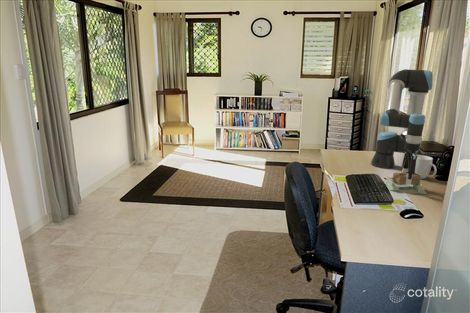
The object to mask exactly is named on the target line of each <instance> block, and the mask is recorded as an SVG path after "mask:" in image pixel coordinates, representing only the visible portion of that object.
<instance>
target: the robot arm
mask: <svg viewBox="0 0 470 313" xmlns="http://www.w3.org/2000/svg"><path fill="white" fill-rule="evenodd" d="M387 88H388V93H387V94H388V95H387V99H386V106H385V111H384V112H382V113H381V115H380V120H379V124H380V126H384V127H392V128H400V129H401V128H402V129H403V130H402V131H401V132H400V134H398V133H397V131H381V132H379V133H378V135H377V138H376V146H375V152H374V155H373V157H372V159H371V162H370V164H371V165H372V166H374V167H377V168H382V169H393V168H395V165H396V162H395V156H394V155H395V154H394V153H401V154H404V155H403V159H402V163H401V166H402V172H401V173H407V177H406V182H405V184H407V185H411V181H412V176H413V174H415V167H416V160H417V156H416V155H418V152H419V151H420V148H421V145H422V141H423V132H424V127H425V123H426V115H424V114H422V113H423V108H424V104H425V98H426V95H427V94H429V91H432V89H433V72H432V71H431V70H425V69H408V68H407V69H405V68H404V69H401V70H398V71H397V72H395V73H394V74H393V75H392V76H391V77H390V78H389V80H388V83H387ZM404 89H407V92H408V93H409V99H408V105H407V110H406V114H402V113H400V110H401V102H402V95H403V90H404Z"/></svg>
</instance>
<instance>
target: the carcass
mask: <svg viewBox="0 0 470 313" xmlns="http://www.w3.org/2000/svg"><path fill="white" fill-rule="evenodd" d="M385 179H386V181H384V182H385V183H386V185H387V186H388V187H387V186H386V185H385V186H386V187H387V189H388V188H389V189H388V190H389V191H390V190H391V191H390V192H397V191H400V192H399V193H410V194H421V195H427V192H426V191H425V187H423V184H422V183H421V184H413V185H398V184H396V183H394V182H393V181H392V179H393V178H390V177H389V176H388V175H386V176H385ZM385 183H384V184H385Z"/></svg>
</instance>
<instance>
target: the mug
mask: <svg viewBox="0 0 470 313" xmlns="http://www.w3.org/2000/svg"><path fill="white" fill-rule="evenodd" d="M416 156H417V160H416V167H415V173H416V174H418V175H420V176H421V179H420V180H423V179H426V178H427V177H429V178H430V177H434V176H436V174H437V172H438V171H437V166H436V165H435V164H433V160H434V158H433V157H432V156H427V155H422V154H416ZM432 167H433V169H434V170H433V174H431V175H430V173H431V169H432Z"/></svg>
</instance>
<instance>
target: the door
mask: <svg viewBox="0 0 470 313" xmlns="http://www.w3.org/2000/svg"><path fill="white" fill-rule="evenodd" d="M406 177H407V173H402V172H393V175H392V178H391V179H392V181H393V182H394V183H396V184H398V185H407V184H405V182H406ZM421 180H422V179H421V176H420V175H418V174H416V173H415V174H413V176H412V181H411V185H413V184H420V183H421ZM420 185H421V184H420Z"/></svg>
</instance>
